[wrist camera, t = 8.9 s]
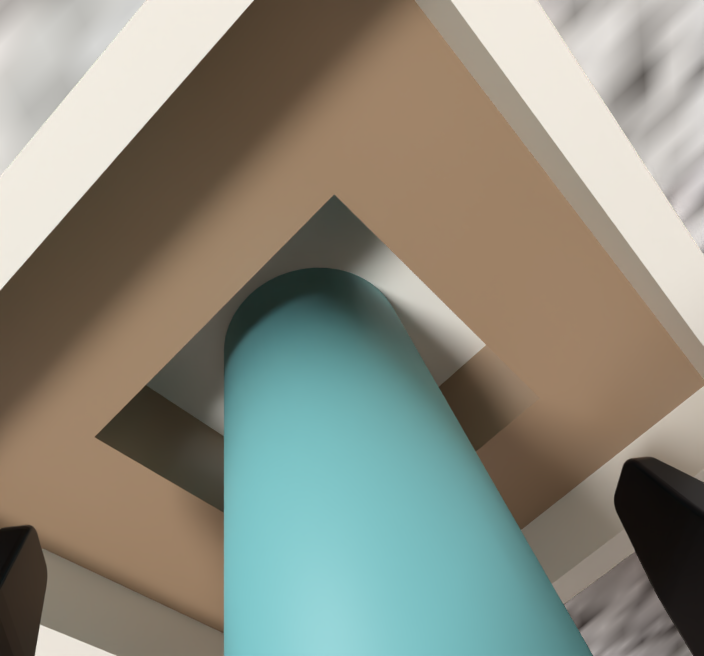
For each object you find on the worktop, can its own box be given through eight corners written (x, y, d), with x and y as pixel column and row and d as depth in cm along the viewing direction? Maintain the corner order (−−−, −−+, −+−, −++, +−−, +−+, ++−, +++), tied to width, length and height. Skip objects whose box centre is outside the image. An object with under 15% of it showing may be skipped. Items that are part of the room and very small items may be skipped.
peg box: (652, 310, 16) (811, 420, 12) (310, 595, 19) (336, 773, 14) (305, -147, 10) (364, -265, 6) (-121, 358, 13) (-297, 534, 9)
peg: (395, 415, 15) (587, 864, 7) (230, 431, 14) (238, 947, 6) (406, 263, 13) (680, 637, 5) (217, 271, 12) (204, 718, 5)
